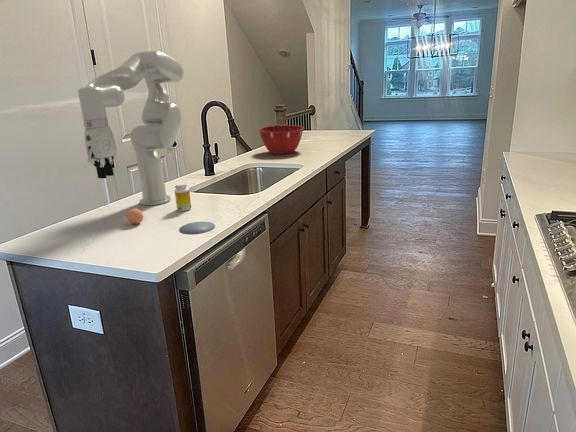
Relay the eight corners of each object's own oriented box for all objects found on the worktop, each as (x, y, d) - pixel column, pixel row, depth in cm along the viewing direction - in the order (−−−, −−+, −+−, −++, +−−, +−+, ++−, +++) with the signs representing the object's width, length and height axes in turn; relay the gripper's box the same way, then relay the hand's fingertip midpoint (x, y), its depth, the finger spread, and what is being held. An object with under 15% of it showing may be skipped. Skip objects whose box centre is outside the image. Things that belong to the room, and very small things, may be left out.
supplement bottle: (193, 209, 171) (190, 184, 168) (179, 212, 169) (175, 186, 165) (189, 206, 176) (185, 181, 173) (175, 209, 173) (171, 183, 170)
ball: (130, 221, 161) (128, 206, 159) (146, 220, 161) (143, 206, 159) (125, 226, 156) (123, 211, 154) (141, 225, 156) (139, 210, 154)
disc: (183, 223, 156) (183, 222, 156) (217, 221, 156) (216, 220, 156) (175, 235, 145) (175, 234, 145) (212, 233, 145) (212, 232, 145)
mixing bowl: (313, 152, 276) (312, 127, 271) (273, 158, 262) (271, 132, 258) (290, 147, 299) (289, 124, 294) (252, 152, 286) (250, 128, 281)
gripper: (87, 127, 142) (98, 182, 147) (121, 121, 156) (129, 171, 162) (69, 127, 144) (80, 182, 150) (103, 121, 159) (113, 171, 164)
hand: (106, 176), depth 156 cm, fingers open, 3 cm apart
